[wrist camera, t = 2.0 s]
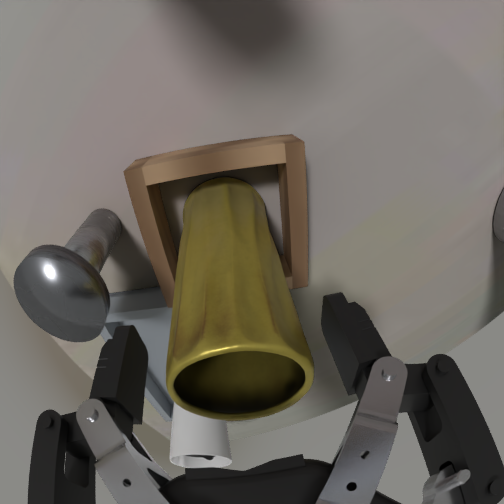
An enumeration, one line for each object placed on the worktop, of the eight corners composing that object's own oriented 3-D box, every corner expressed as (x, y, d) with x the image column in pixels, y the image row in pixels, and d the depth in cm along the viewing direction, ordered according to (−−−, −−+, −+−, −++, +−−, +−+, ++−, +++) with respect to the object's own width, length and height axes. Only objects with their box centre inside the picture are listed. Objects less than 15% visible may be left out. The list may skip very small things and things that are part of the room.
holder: (291, 134, 18) (304, 141, 16) (298, 264, 24) (307, 286, 22) (135, 159, 18) (123, 171, 15) (171, 284, 24) (168, 307, 21)
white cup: (231, 378, 31) (239, 455, 23) (218, 403, 34) (224, 469, 26) (175, 371, 29) (172, 451, 21) (169, 397, 32) (167, 465, 24)
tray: (222, 277, 24) (224, 298, 22) (250, 396, 35) (253, 414, 33) (97, 294, 23) (89, 315, 21) (166, 404, 35) (166, 421, 32)
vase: (244, 260, 23) (275, 428, 11) (172, 236, 21) (140, 411, 9) (279, 195, 21) (362, 351, 9) (200, 163, 19) (176, 311, 7)
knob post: (127, 182, 19) (74, 248, 11) (148, 252, 22) (122, 339, 14) (62, 200, 18) (-2, 266, 11) (87, 263, 22) (46, 342, 14)
